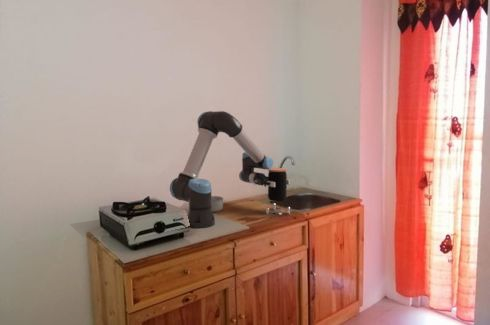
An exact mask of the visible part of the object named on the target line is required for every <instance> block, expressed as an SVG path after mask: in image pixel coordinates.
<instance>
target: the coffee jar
mask: <svg viewBox="0 0 490 325" xmlns="http://www.w3.org/2000/svg"><path fill="white" fill-rule="evenodd" d="M267 170H268V181H272V182H275V187H272V186H267V189H268V190H267V198H268V199H269V201H272V202H283V201H286V199H287V184H286V180H287V168H283V167H271V168H270V169H267Z"/></svg>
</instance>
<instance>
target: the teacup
mask: <svg viewBox="0 0 490 325" xmlns="http://www.w3.org/2000/svg"><path fill="white" fill-rule="evenodd" d="M223 208H224V197H222V196H219V195H218V196H217V195H211V210H212V213H218V212H221V210H222V209H223Z"/></svg>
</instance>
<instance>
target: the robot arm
mask: <svg viewBox="0 0 490 325" xmlns="http://www.w3.org/2000/svg"><path fill="white" fill-rule="evenodd" d="M196 122H197V123H196V124H197V131H198V135H197V137H196V140H195V142H194V145H193V147H192V149H191V152H190V154H189V157H188V160H187V161H186V164H185V166H184V169H183V171H180V172H179V174H178V176H177V177H175V178H174V179H173V180H172V181H171V182H170V185H169V192H170V194H171V196H172V198H174V199H176V200H178V201H183V202H187V203H188V209H189V210H188V213H187V215H186V217H187V216H188V219H189V223H190V226H191V227H190V228H195V229H196V228H197V229H202V228H203V229H204V228H208V227H212V226H214V225H215V224H216V222H215V221H216V220H215V217H214V216H215V215H214V212H212V210H211V196H212V184H211V182H210V181H209V180H208V179H205V178H199V175H200V172H201V169H202V167H203V165H204V163H205V160H206V158H207V155H208V152H209V150H210V147H211V145H212V143H213V140H214V139H217V137H218V135H219V134H220V133H225V135H227V136H228V137H229V138H232V139H233V140H234V141H235V142H236V144H238V145H239V147H240V148H241V149H242V150H243V151H244V152H242V158H241V159H242V160H241V161H242V162H241V164H242V170H241V171H240V172H239V174H238V177H239V180H240V181H242V182H244V183H249V184H253V185H254V186H256V185H257V186H264V187H265V188H266V187H268V186H272V187H275V182H272V181H268V176H267V175H266V174H265V173H261V172H257V171H255V169H260V170H268V169H270V168H273V165H274V161H273V158H271V157H269V156H266V155H265V154H264V153H263V151H261V149H260V148H259V147H258V145H257V144H256V143H255V142H254V141H253V139H252V138H251V137H250V136H249V135H248V134H247V132H246V131H245V130H244V127H243V126H244V125H243V124H241V122H240V121H239V120H238V119H237V118H236V117H235V116H234V115H232V114H231V113H229V112H227V111H222V110H221V111H220V110H219V111H211V110H209V111H204V112H202V113H201V114H200V115H199V116H198V118H197V121H196ZM290 182H291V180H290V179H286V186H287V185H288V186H289V185H290Z"/></svg>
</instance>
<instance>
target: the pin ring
mask: <svg viewBox="0 0 490 325" xmlns="http://www.w3.org/2000/svg"><path fill="white" fill-rule="evenodd" d="M276 204H277V203H275V202H273V203H272V210H271V211H270V207H267V206H266V208H265V215H266V216H268V215H270V214H271V215H283V214H282V213H281V211H282V210H276V208H277V207H276ZM286 208H287V209H286V215H290V214H291V206H287V207H286Z"/></svg>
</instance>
